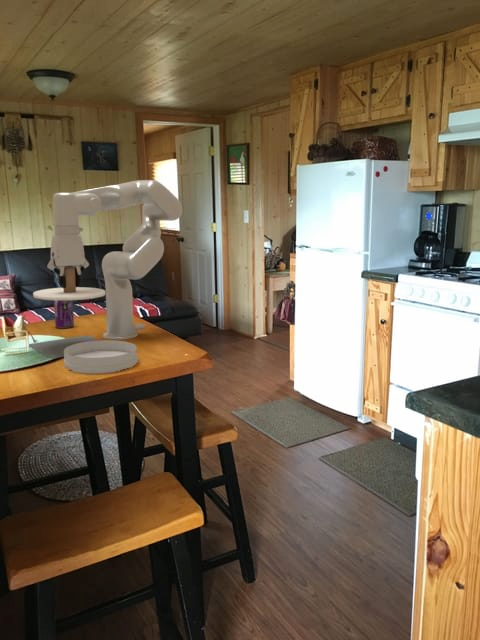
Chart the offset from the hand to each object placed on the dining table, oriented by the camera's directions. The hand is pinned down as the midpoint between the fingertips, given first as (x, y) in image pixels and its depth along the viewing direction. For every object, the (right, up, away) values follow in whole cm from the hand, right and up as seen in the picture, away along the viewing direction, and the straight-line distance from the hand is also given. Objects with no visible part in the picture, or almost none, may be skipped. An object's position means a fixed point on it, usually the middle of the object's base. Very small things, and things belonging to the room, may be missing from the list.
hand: (69, 286), depth 182 cm
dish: (+14, -25, -13) cm, 31 cm away
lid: (0, -3, +1) cm, 3 cm away
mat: (-1, -21, +5) cm, 21 cm away
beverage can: (-14, -14, +37) cm, 42 cm away
